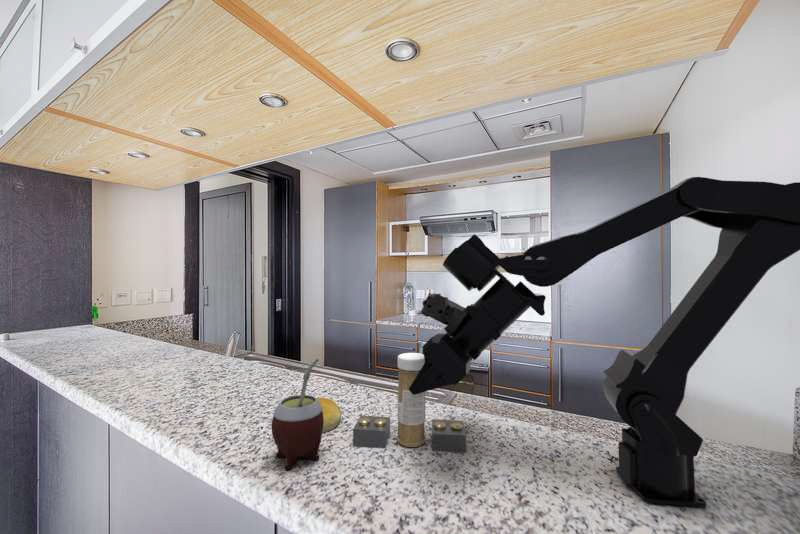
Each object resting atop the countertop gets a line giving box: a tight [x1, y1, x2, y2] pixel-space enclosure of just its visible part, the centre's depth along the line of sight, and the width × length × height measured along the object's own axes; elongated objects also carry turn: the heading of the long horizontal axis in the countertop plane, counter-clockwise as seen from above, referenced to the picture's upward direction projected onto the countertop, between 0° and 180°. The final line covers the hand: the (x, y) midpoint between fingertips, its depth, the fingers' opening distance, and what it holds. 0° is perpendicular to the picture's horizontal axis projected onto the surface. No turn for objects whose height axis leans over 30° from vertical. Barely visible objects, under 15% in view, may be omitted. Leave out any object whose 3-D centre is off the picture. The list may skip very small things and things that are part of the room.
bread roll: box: [315, 397, 342, 434], centre depth 57 cm, size 8×9×4 cm
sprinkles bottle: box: [396, 352, 426, 448], centre depth 51 cm, size 5×5×14 cm
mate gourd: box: [271, 358, 324, 472], centre depth 46 cm, size 8×8×15 cm
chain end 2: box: [431, 418, 467, 454], centre depth 50 cm, size 5×5×3 cm
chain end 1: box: [352, 415, 391, 449], centre depth 51 cm, size 5×5×3 cm
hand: (420, 382), depth 50 cm, fingers open, 9 cm apart
